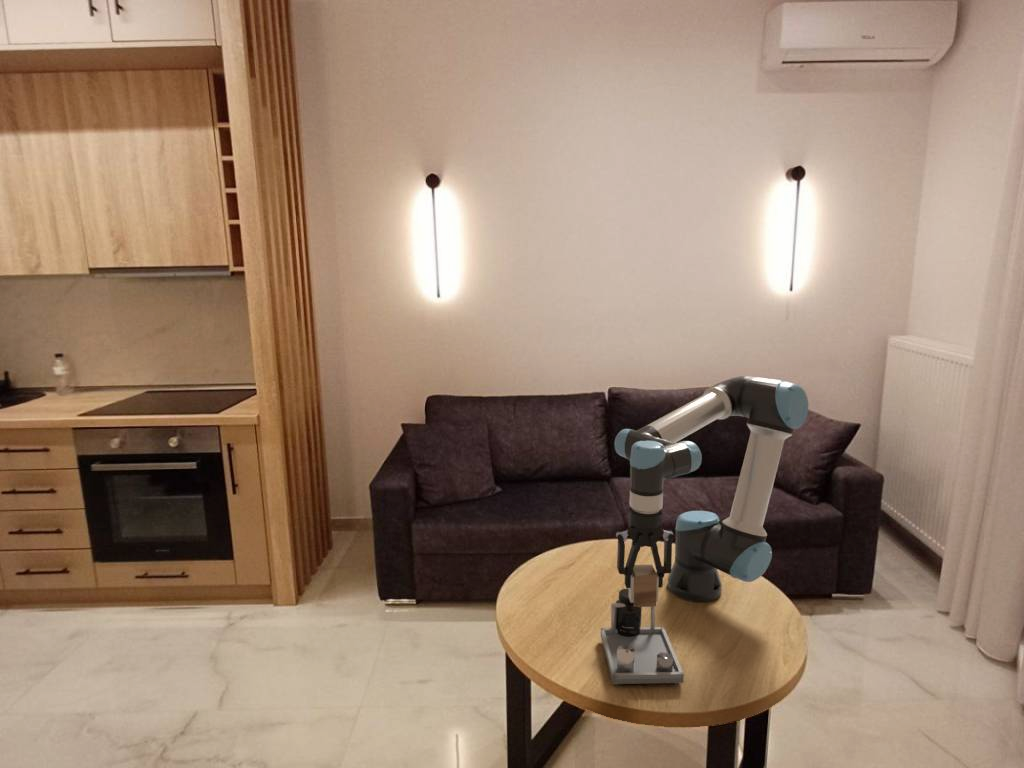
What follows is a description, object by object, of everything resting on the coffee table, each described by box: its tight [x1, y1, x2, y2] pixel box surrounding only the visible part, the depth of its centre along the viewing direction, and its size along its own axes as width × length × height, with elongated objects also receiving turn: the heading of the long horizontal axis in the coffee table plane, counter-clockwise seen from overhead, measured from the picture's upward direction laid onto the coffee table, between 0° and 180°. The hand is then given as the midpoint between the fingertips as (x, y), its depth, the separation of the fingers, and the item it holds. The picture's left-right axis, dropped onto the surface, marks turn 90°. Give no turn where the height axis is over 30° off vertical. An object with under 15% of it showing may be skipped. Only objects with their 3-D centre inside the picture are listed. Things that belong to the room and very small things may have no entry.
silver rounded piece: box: [617, 645, 635, 673], centre depth 141 cm, size 4×4×5 cm
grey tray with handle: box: [600, 602, 685, 686], centre depth 147 cm, size 16×18×10 cm
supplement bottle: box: [615, 588, 643, 637], centre depth 156 cm, size 7×7×12 cm
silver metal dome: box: [656, 653, 673, 672], centre depth 141 cm, size 4×4×3 cm
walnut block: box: [632, 564, 657, 608], centre depth 146 cm, size 5×5×8 cm
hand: (643, 599), depth 147 cm, fingers closed on walnut block, 5 cm apart
